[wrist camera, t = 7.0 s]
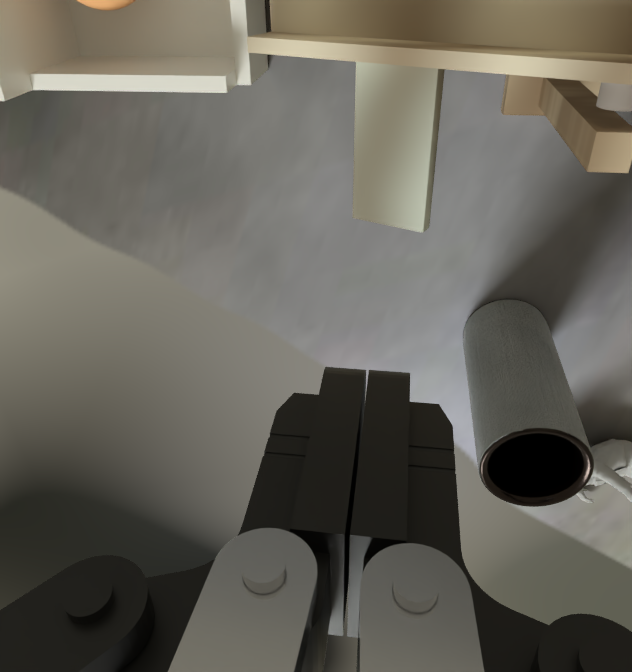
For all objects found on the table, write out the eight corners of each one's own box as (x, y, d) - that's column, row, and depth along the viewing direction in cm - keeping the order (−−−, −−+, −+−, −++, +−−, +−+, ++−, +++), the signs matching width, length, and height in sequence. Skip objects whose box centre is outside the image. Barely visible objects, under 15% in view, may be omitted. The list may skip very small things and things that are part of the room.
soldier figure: (684, 486, 39) (508, 535, 38) (656, 413, 40) (484, 459, 39) (774, 490, 31) (556, 551, 30) (737, 399, 32) (525, 457, 32)
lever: (1125, -271, 14) (1401, -419, 8) (850, 252, 21) (889, 373, 15) (346, -182, 22) (209, -221, 17) (342, 165, 29) (246, 221, 24)
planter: (458, 364, 35) (472, 503, 26) (466, 296, 32) (485, 424, 24) (540, 369, 34) (582, 512, 26) (554, 299, 32) (607, 433, 23)
